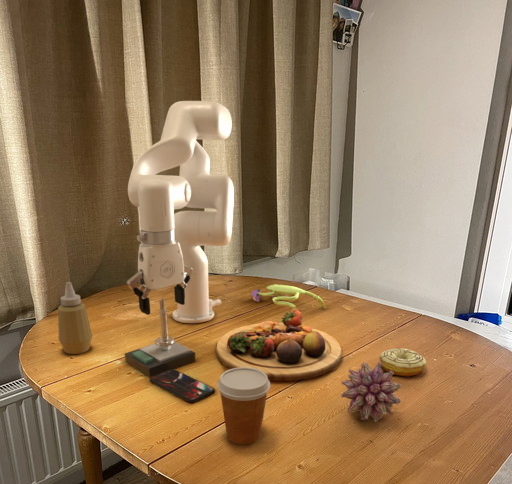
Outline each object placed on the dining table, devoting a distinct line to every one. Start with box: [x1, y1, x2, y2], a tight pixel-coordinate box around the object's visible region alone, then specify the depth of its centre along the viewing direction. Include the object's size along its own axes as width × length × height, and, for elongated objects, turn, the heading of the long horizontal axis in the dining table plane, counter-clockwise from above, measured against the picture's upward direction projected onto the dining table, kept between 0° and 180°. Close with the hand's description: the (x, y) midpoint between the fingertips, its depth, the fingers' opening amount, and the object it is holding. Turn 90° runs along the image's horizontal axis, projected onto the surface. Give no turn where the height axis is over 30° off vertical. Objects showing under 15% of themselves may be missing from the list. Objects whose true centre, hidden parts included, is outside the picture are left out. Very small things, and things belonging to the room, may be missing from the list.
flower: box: [340, 361, 403, 423], centre depth 98 cm, size 12×12×12 cm
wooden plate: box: [215, 309, 343, 382], centre depth 126 cm, size 32×32×8 cm
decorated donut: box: [379, 347, 427, 377], centre depth 120 cm, size 10×11×4 cm
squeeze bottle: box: [57, 281, 93, 355], centre depth 125 cm, size 8×8×18 cm
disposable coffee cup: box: [216, 367, 271, 445], centre depth 91 cm, size 10×10×12 cm
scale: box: [124, 341, 196, 378], centre depth 122 cm, size 13×11×3 cm
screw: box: [154, 298, 176, 351], centre depth 120 cm, size 13×5×5 cm
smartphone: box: [149, 368, 216, 403], centre depth 111 cm, size 7×1×15 cm
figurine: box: [251, 283, 328, 310], centre depth 163 cm, size 18×27×6 cm
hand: (163, 308), depth 119 cm, fingers open, 9 cm apart
